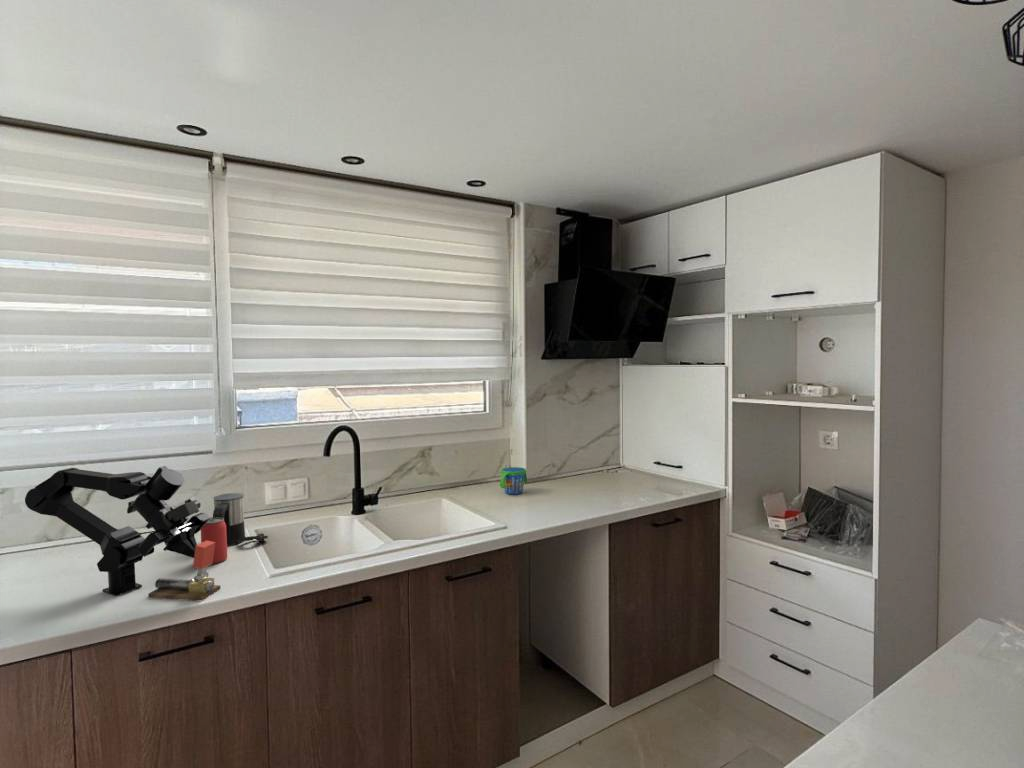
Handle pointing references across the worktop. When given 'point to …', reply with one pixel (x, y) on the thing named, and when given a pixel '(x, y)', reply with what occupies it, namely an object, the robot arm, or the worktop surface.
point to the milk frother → (233, 517)
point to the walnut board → (180, 594)
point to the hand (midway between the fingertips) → (198, 557)
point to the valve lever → (203, 559)
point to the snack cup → (513, 480)
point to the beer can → (216, 537)
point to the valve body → (186, 585)
